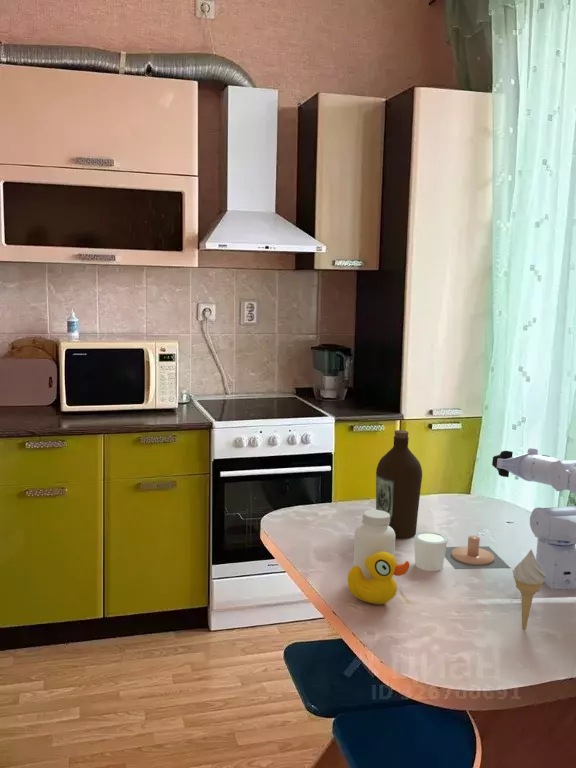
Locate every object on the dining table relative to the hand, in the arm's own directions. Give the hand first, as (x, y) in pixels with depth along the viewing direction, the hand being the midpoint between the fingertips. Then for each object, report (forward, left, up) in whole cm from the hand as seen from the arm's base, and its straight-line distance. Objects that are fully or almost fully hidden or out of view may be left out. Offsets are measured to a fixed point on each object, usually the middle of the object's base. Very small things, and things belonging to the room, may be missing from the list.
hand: (509, 462), depth 170 cm
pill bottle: (-21, +36, -20) cm, 46 cm away
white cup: (-13, +22, -20) cm, 32 cm away
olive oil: (+7, +24, -20) cm, 31 cm away
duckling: (-28, +37, -20) cm, 50 cm away
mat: (-9, +11, -19) cm, 24 cm away
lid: (-9, +11, -19) cm, 23 cm away
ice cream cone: (-40, +13, -20) cm, 46 cm away
